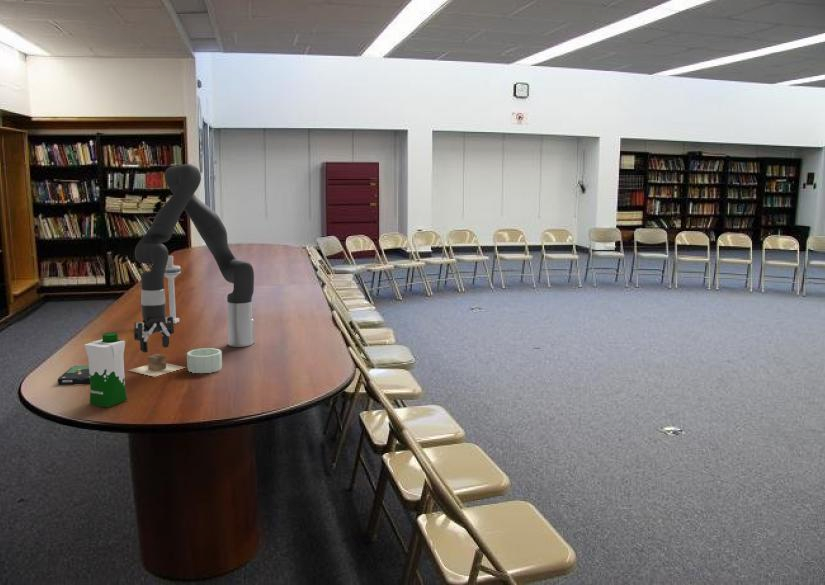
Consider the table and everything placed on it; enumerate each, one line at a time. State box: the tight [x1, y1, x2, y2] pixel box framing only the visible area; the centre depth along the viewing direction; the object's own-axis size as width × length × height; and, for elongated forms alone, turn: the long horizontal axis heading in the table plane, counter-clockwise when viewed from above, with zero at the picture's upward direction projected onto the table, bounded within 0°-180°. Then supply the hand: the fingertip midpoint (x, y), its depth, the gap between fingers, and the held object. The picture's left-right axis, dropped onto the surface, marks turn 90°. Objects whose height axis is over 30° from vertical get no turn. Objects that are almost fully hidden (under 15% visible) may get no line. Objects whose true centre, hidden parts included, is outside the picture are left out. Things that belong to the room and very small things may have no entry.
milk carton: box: [84, 332, 128, 409], centre depth 192 cm, size 9×9×20 cm
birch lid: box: [128, 353, 187, 378], centre depth 226 cm, size 13×13×6 cm
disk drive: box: [57, 364, 90, 386], centre depth 216 cm, size 10×3×15 cm
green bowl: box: [186, 347, 223, 374], centre depth 228 cm, size 11×11×6 cm
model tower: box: [164, 255, 182, 324], centre depth 296 cm, size 8×8×30 cm
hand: (155, 349), depth 225 cm, fingers open, 8 cm apart
